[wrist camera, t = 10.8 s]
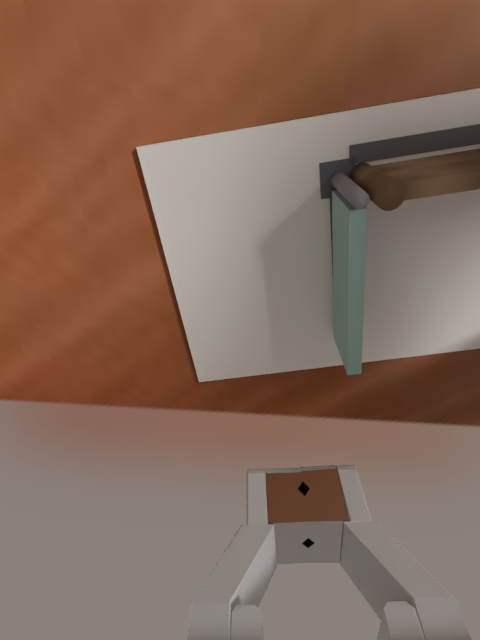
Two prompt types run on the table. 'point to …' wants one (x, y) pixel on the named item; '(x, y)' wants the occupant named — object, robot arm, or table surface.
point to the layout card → (315, 238)
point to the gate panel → (348, 269)
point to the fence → (418, 178)
